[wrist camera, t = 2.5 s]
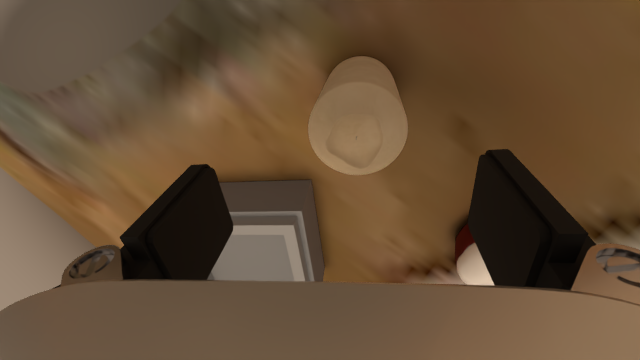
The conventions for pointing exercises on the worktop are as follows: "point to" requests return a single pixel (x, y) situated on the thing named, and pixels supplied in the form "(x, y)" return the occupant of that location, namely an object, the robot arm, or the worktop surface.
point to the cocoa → (470, 260)
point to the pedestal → (271, 233)
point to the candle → (358, 118)
